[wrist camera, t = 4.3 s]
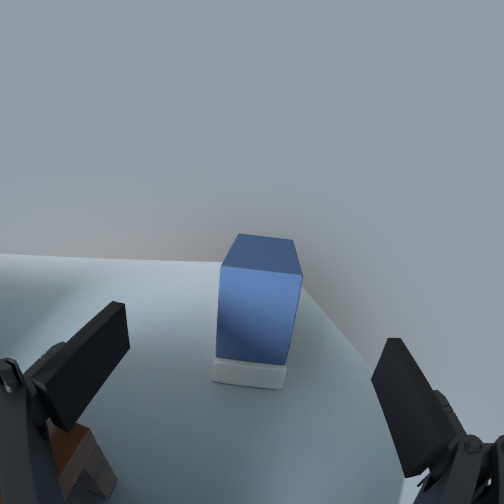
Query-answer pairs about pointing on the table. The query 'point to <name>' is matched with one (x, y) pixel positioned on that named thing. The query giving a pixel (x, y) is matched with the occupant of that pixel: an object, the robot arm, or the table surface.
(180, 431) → the table surface
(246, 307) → the block
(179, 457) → the table surface
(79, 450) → the shelf
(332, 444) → the table surface
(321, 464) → the table surface
